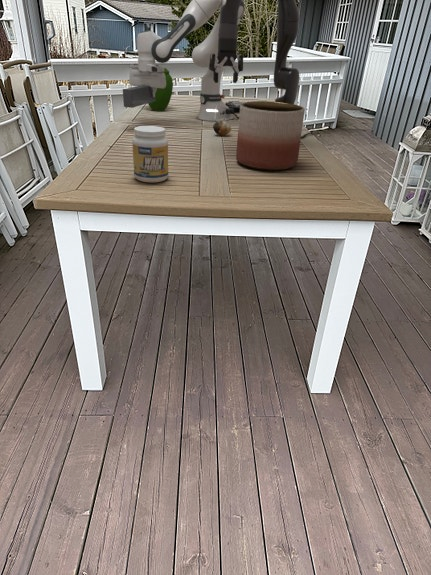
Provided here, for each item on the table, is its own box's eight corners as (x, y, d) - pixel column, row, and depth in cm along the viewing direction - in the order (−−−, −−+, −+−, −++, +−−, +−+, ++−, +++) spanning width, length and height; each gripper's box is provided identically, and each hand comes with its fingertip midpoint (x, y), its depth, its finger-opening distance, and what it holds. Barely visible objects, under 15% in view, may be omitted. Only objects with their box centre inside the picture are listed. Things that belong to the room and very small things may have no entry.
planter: (305, 172, 161) (315, 112, 150) (243, 172, 157) (248, 110, 146) (285, 155, 183) (293, 101, 171) (230, 155, 178) (233, 100, 167)
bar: (147, 100, 224) (147, 84, 220) (155, 101, 223) (154, 85, 219) (123, 106, 203) (122, 89, 199) (132, 107, 202) (131, 90, 198)
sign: (225, 107, 272) (224, 100, 297) (225, 111, 274) (224, 105, 299) (253, 108, 272) (250, 101, 298) (253, 113, 274) (250, 106, 299)
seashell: (229, 134, 215) (230, 118, 210) (231, 136, 210) (232, 120, 206) (212, 134, 213) (212, 117, 209) (213, 136, 209) (214, 119, 204)
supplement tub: (139, 184, 140) (136, 133, 131) (130, 174, 149) (127, 125, 140) (173, 181, 144) (172, 131, 135) (162, 172, 153) (161, 124, 144)
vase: (143, 107, 275) (142, 66, 262) (173, 108, 277) (172, 67, 264) (142, 112, 259) (140, 68, 246) (173, 113, 261) (173, 70, 248)
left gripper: (126, 66, 212) (128, 95, 219) (161, 68, 207) (162, 98, 214) (132, 65, 217) (133, 94, 224) (167, 68, 212) (167, 97, 219)
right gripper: (215, 36, 156) (213, 83, 165) (248, 38, 161) (244, 83, 170) (207, 36, 162) (206, 81, 171) (239, 37, 167) (236, 81, 176)
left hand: (148, 96), depth 219 cm, fingers closed on bar, 5 cm apart
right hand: (225, 82), depth 170 cm, fingers open, 8 cm apart
